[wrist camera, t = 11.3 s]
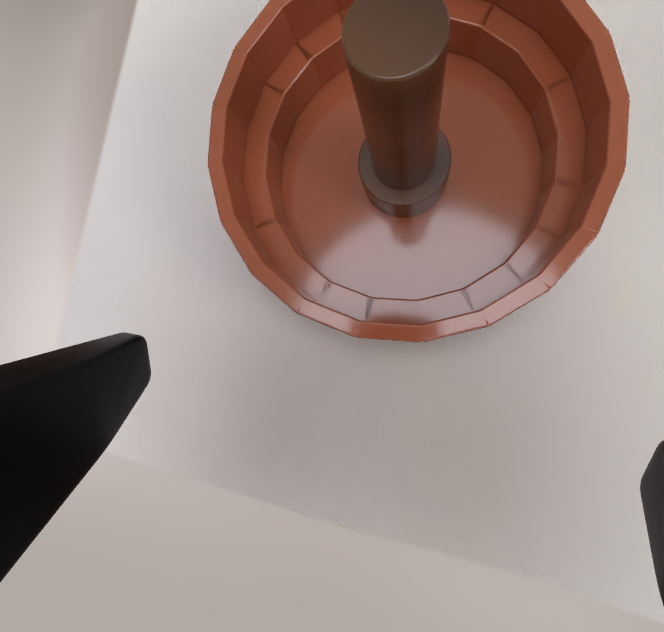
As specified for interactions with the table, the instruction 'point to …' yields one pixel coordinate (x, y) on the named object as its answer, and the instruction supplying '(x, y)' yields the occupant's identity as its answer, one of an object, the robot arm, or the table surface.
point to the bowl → (463, 180)
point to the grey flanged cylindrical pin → (400, 100)
